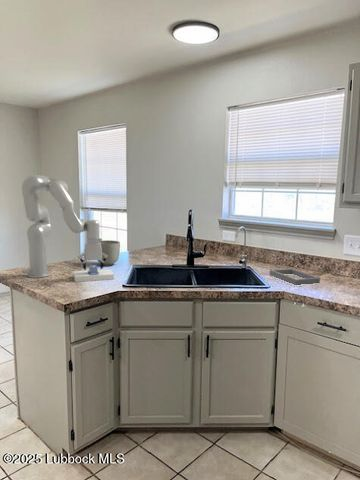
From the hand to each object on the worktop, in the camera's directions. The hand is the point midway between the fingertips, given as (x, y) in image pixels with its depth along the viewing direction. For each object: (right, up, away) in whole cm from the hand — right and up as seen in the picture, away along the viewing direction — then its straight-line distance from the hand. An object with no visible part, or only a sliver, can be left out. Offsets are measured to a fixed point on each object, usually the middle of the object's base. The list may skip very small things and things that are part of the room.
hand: (93, 269), depth 218 cm
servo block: (0, -5, +1) cm, 5 cm away
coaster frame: (+122, -7, +7) cm, 123 cm away
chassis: (0, -5, +1) cm, 5 cm away
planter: (+1, 0, +38) cm, 38 cm away
